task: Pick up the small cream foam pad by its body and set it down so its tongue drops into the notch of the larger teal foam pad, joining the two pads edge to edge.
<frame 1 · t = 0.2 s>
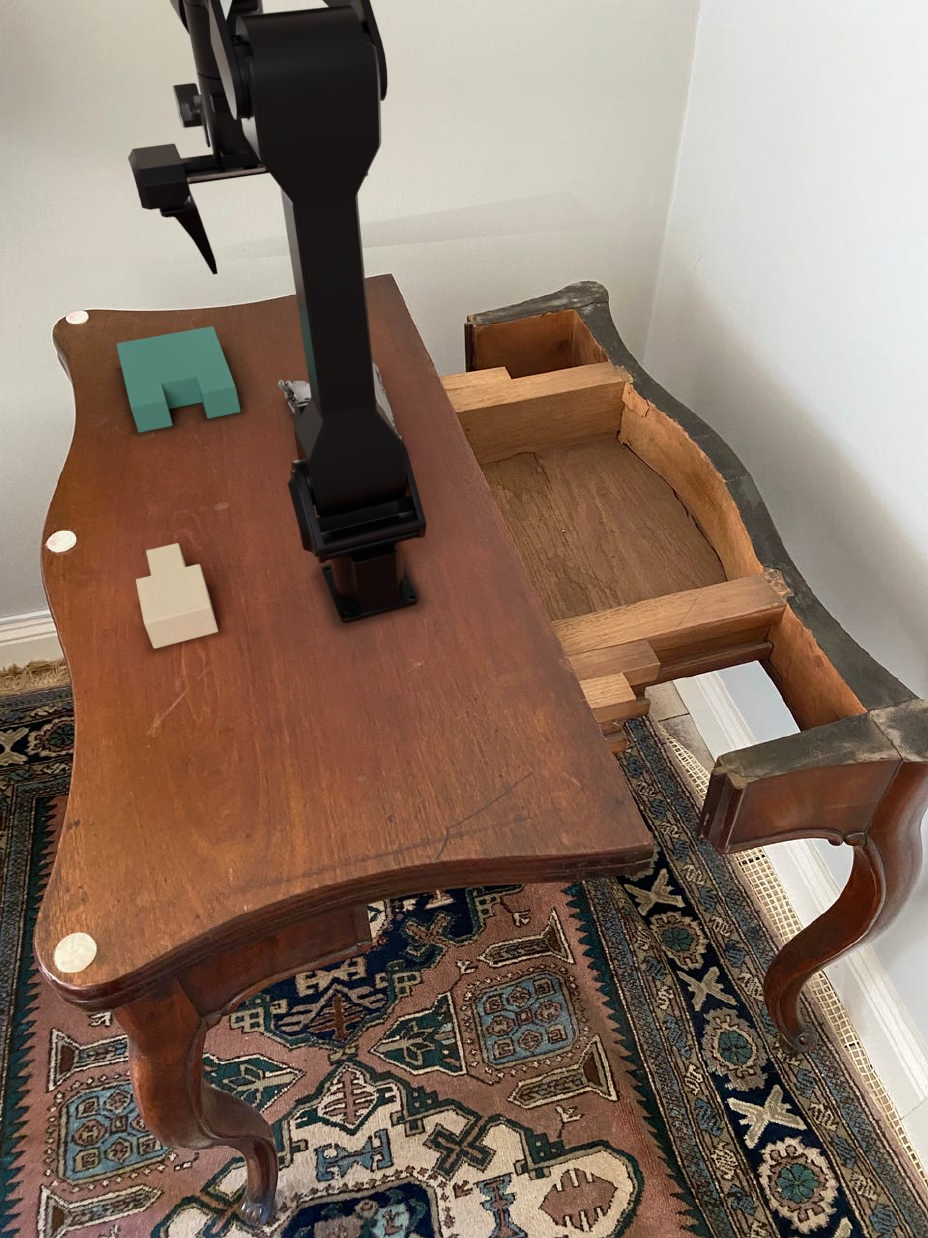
hand: (266, 263, 81), 15 cm above the table, tool pointing down, fingers open, 9 cm apart
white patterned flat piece: (344, 429, 89), on the table
cream pad: (181, 618, 72), on the table
teal pad: (180, 389, 93), on the table
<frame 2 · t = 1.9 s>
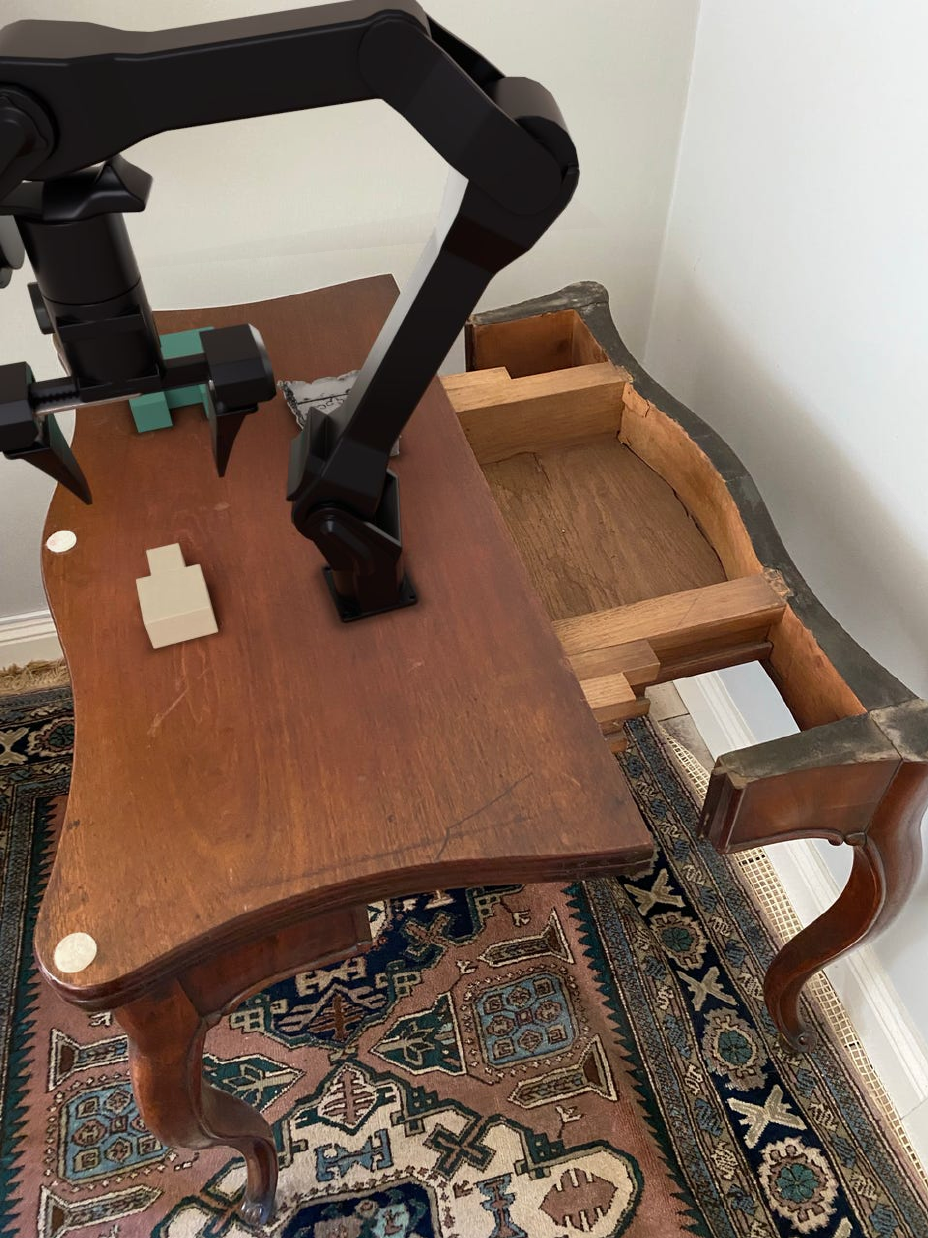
hand: (156, 487, 65), 12 cm above the table, tool pointing down, fingers open, 9 cm apart
nothing on the table moved.
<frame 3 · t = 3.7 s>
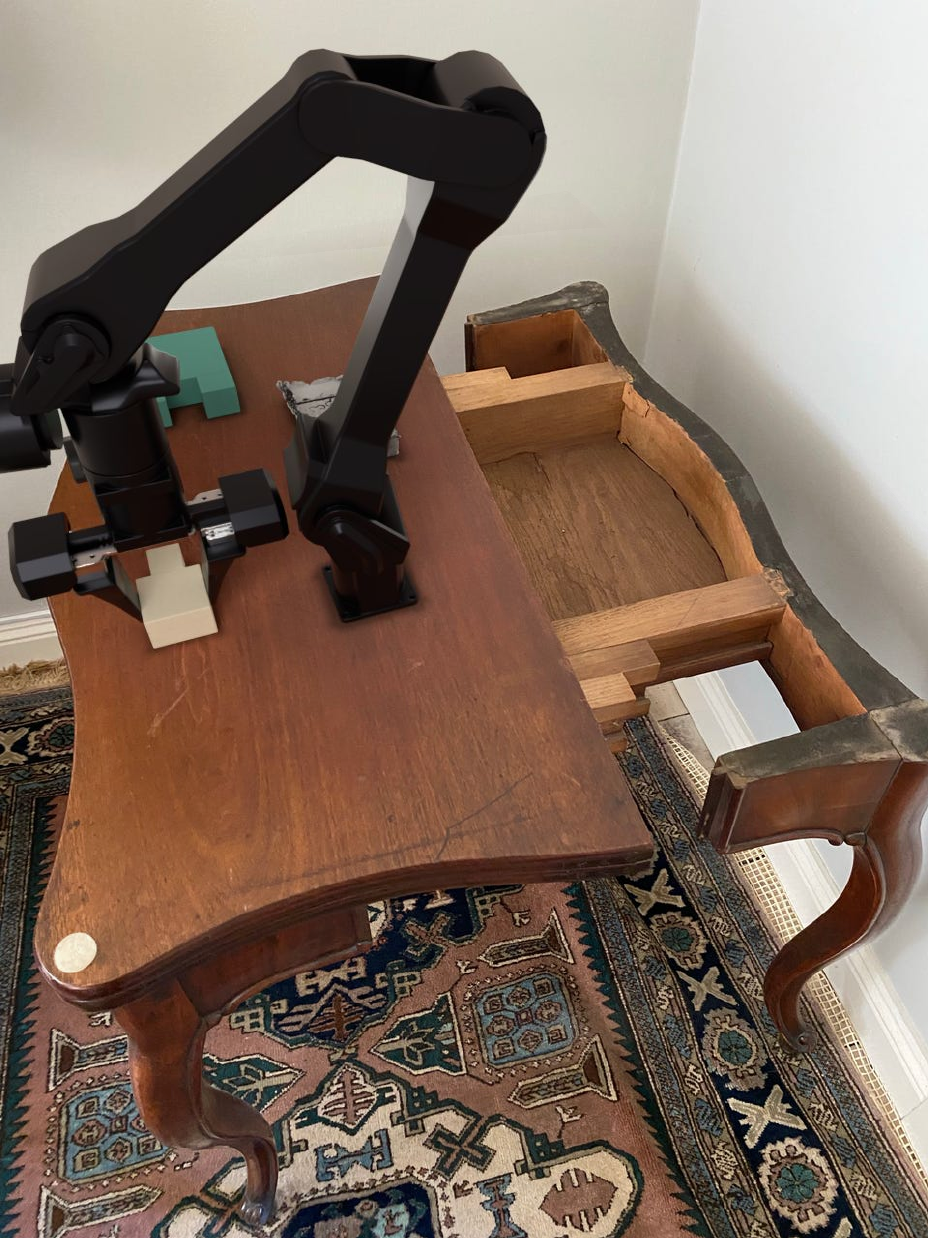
hand: (178, 609, 71), 1 cm above the table, tool pointing down, fingers closed on cream pad, 5 cm apart
cream pad: (181, 618, 72), on the table, touching gripper
everything else where it was.
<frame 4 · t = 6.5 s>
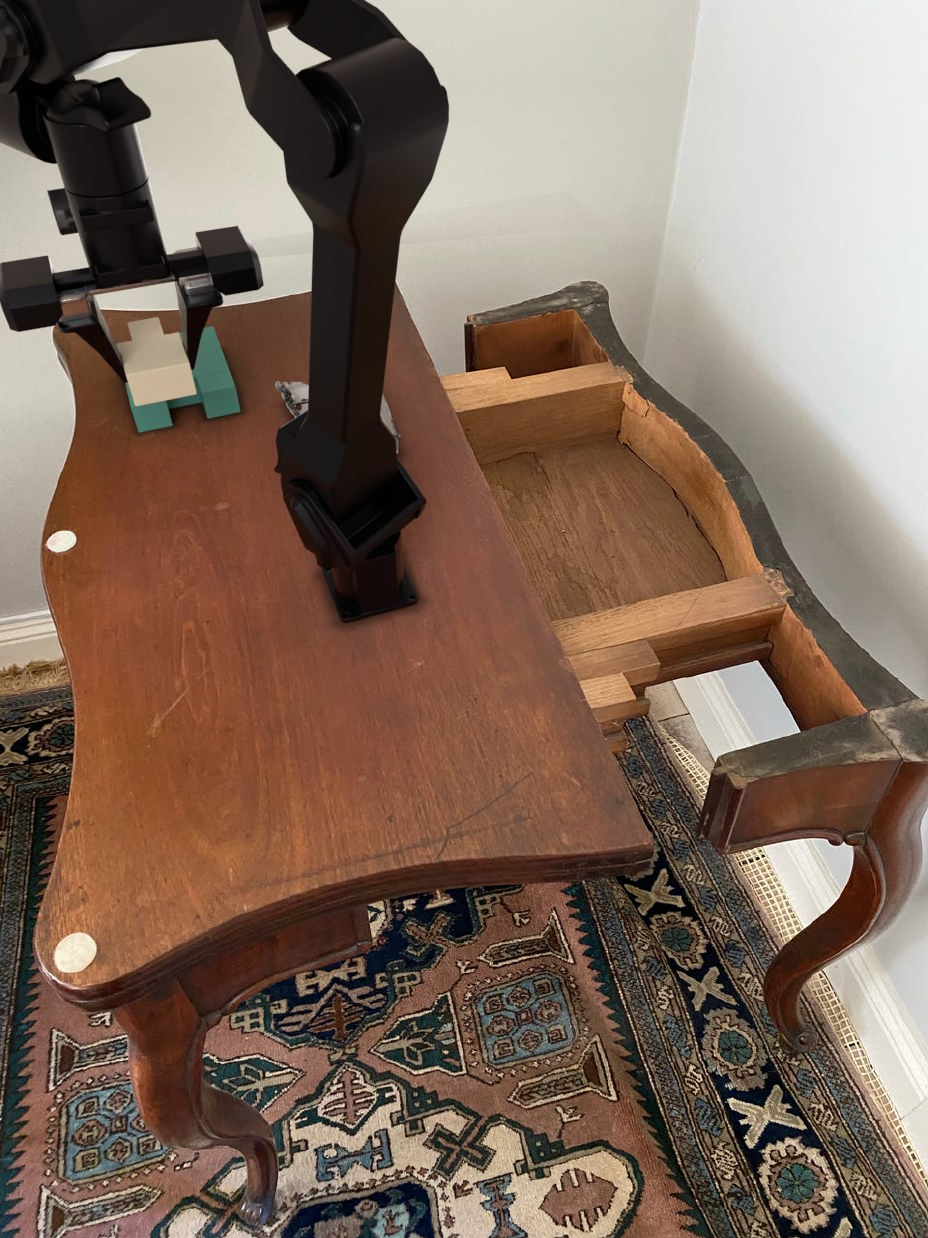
hand: (159, 373, 75), 11 cm above the table, tool pointing down, fingers closed on cream pad, 5 cm apart
cream pad: (161, 384, 76), point 10 cm above the table, touching gripper
everything else where it was.
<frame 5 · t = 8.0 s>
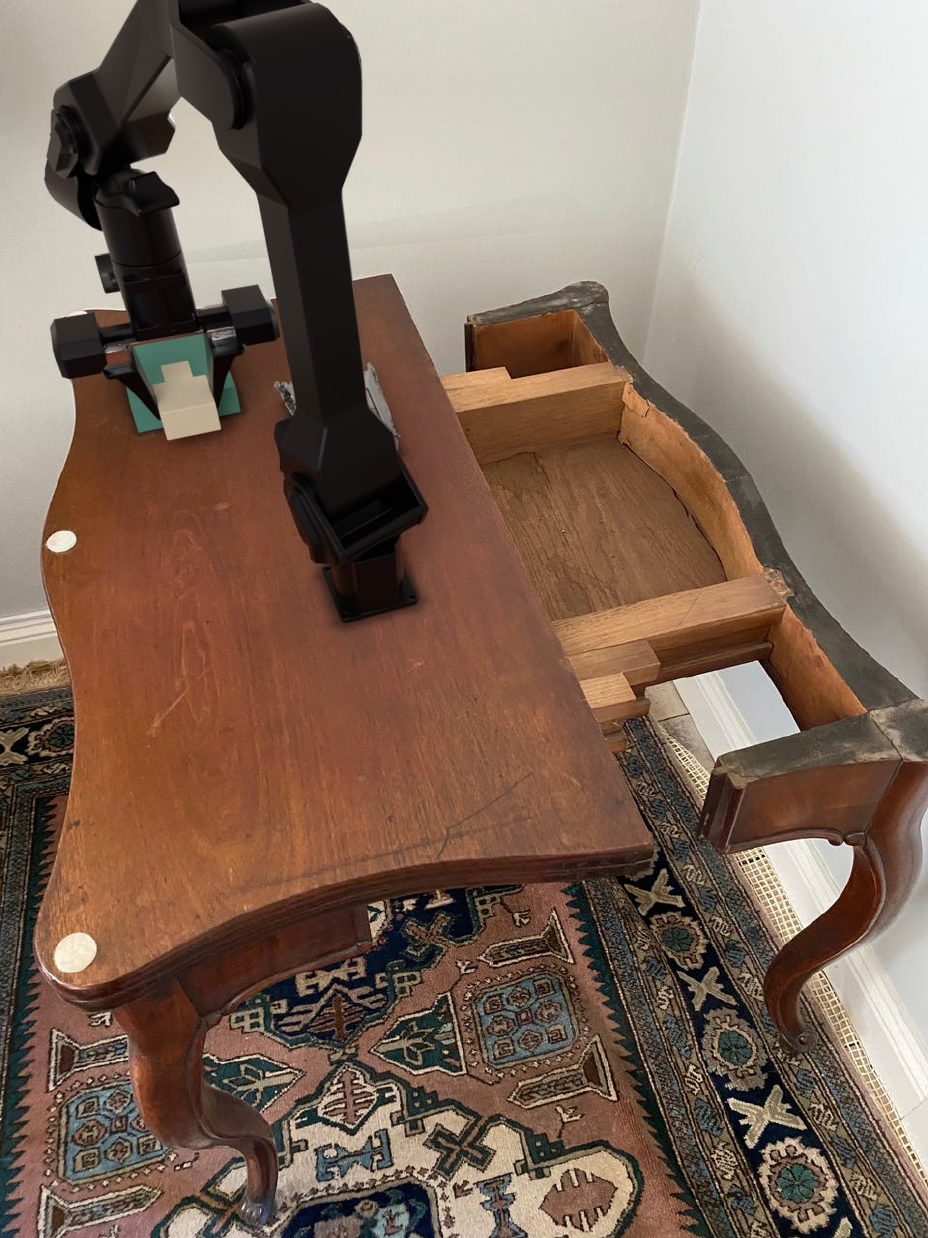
hand: (188, 411, 85), 3 cm above the table, tool pointing down, fingers closed on cream pad, 5 cm apart
cream pad: (190, 420, 86), point 2 cm above the table, touching gripper
everything else where it was.
when the fingers open (1 cm above the table, at t = 9.1 s): cream pad stays where it is, on the table.
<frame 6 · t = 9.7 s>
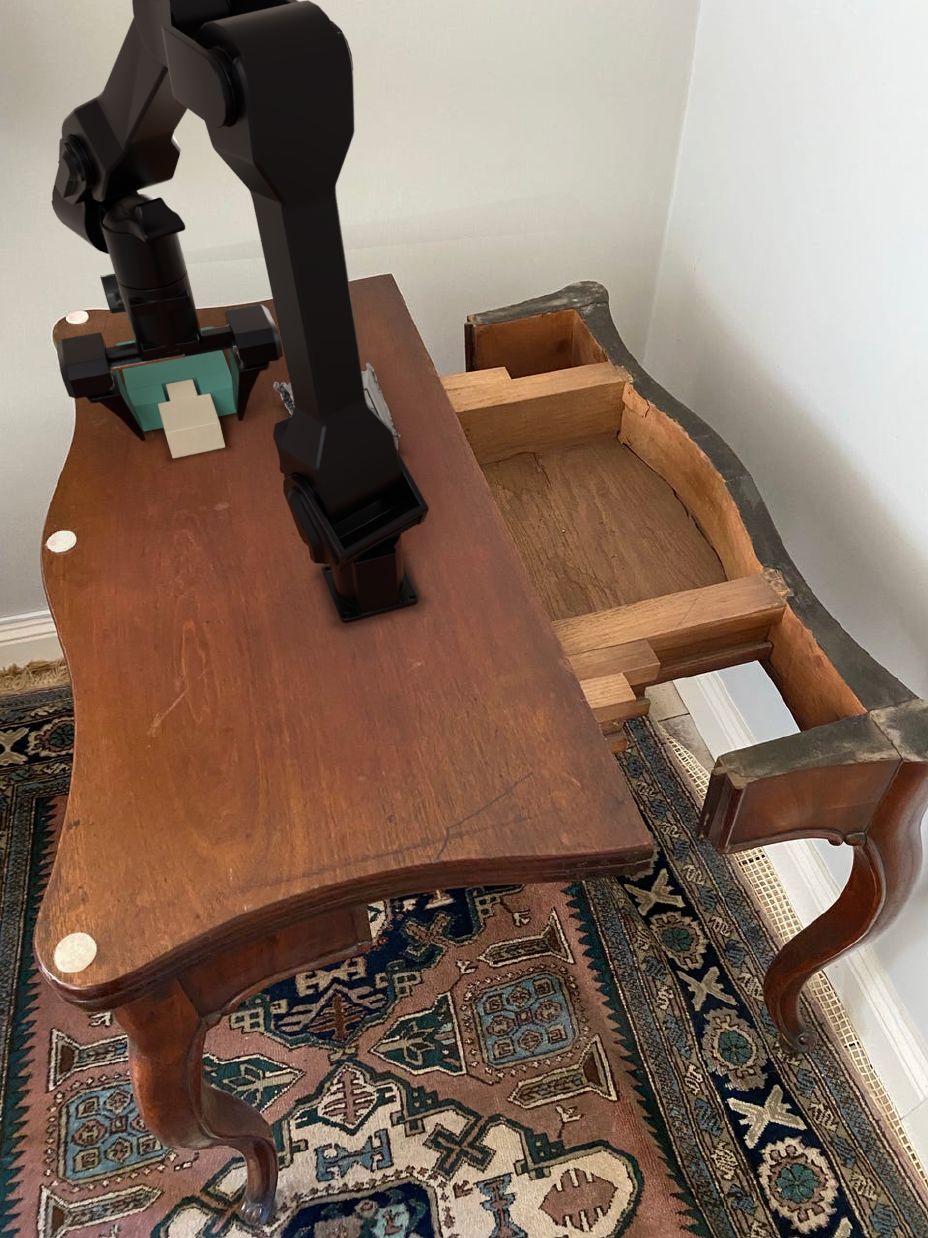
hand: (192, 428, 87), 1 cm above the table, tool pointing down, fingers open, 9 cm apart
cream pad: (195, 438, 87), on the table
everything else where it was.
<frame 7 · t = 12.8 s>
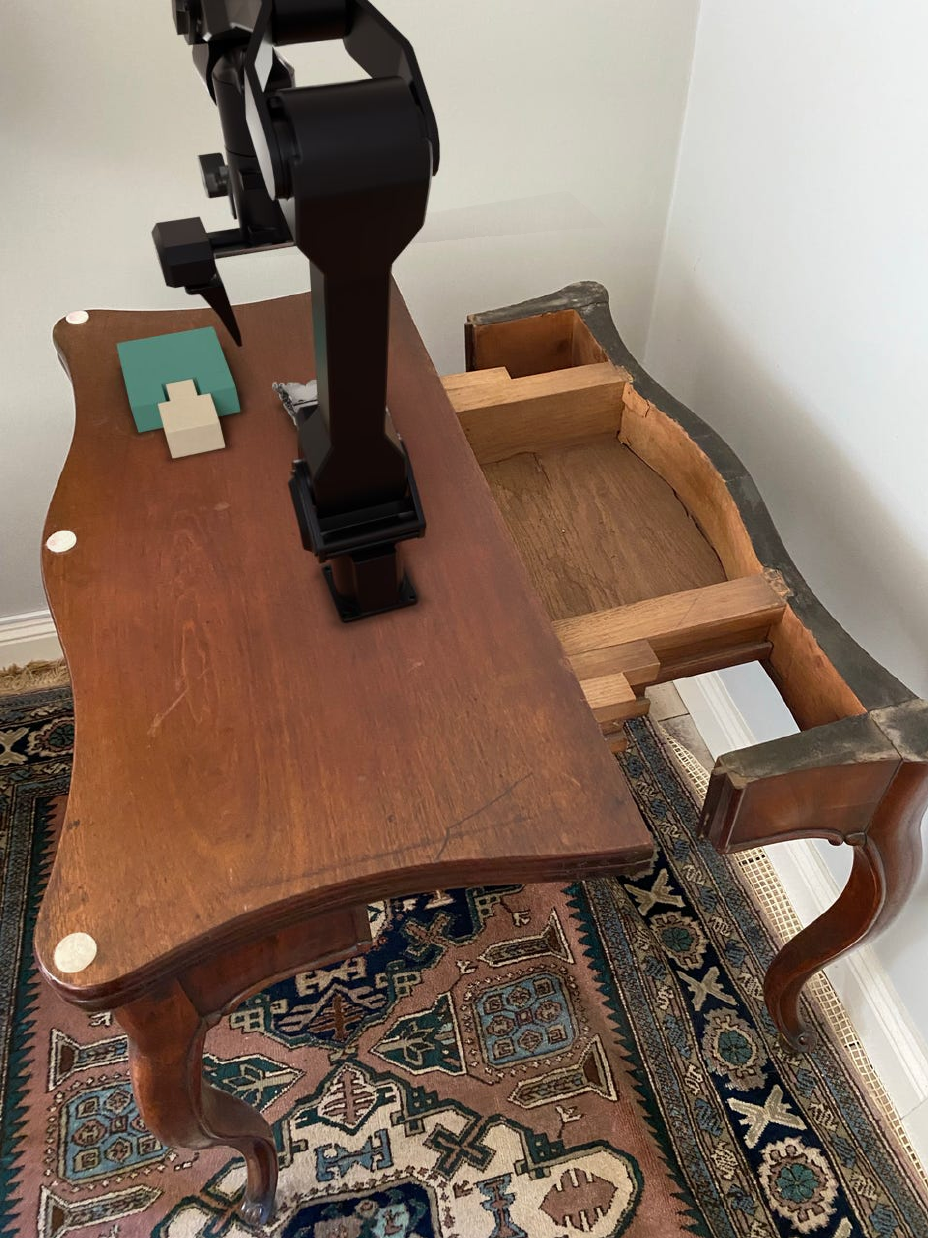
hand: (292, 334, 78), 12 cm above the table, tool pointing down, fingers open, 9 cm apart
nothing on the table moved.
at the end: cream pad 0.1 cm from the target spot on the table beside the teal pad, on the table; cream pad tilted 0°; the gripper is holding nothing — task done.
